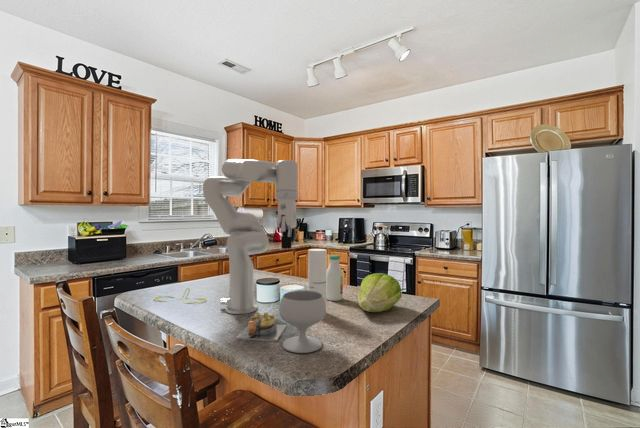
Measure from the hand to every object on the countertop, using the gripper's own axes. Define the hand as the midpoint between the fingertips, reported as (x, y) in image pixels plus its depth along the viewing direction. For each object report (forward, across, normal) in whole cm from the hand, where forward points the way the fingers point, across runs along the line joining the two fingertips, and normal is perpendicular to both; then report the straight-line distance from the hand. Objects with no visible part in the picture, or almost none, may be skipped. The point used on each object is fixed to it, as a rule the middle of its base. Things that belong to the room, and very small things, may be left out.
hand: (286, 248), depth 113 cm
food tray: (+24, -11, +6) cm, 28 cm away
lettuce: (+27, +22, -32) cm, 48 cm away
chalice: (+27, -16, -9) cm, 33 cm away
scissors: (+28, +26, +54) cm, 66 cm away
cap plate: (+27, -8, +6) cm, 29 cm away
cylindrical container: (+27, +15, -9) cm, 32 cm away
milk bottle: (+27, +37, -14) cm, 48 cm away
